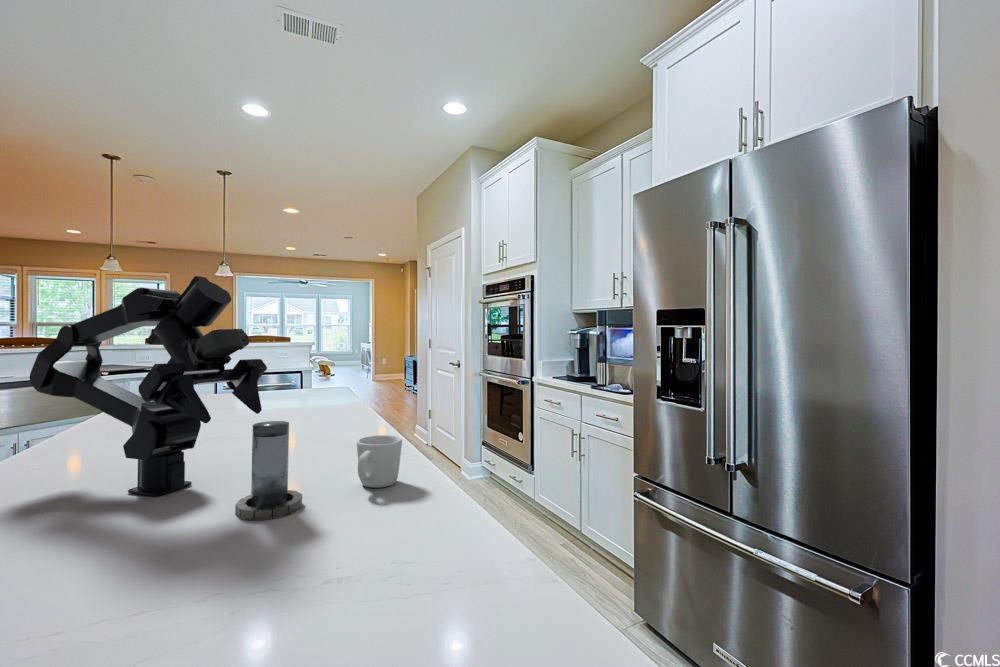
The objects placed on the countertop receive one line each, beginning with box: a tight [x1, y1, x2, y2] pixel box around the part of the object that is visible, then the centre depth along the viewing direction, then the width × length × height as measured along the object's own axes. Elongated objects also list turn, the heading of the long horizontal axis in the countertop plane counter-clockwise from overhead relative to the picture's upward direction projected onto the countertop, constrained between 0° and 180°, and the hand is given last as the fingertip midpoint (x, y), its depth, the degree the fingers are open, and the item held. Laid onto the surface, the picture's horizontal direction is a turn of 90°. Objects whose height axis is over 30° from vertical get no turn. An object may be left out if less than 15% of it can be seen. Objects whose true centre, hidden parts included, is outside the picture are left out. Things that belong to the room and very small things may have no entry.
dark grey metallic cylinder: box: [250, 420, 290, 508], centre depth 70 cm, size 5×5×13 cm
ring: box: [234, 489, 303, 522], centre depth 70 cm, size 9×9×1 cm
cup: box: [356, 434, 403, 489], centre depth 81 cm, size 11×8×8 cm
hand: (235, 416), depth 73 cm, fingers open, 9 cm apart
